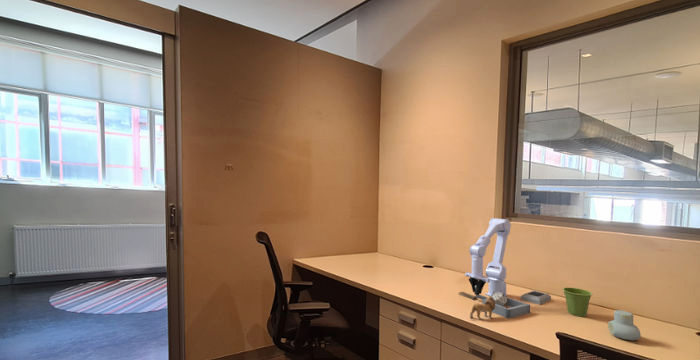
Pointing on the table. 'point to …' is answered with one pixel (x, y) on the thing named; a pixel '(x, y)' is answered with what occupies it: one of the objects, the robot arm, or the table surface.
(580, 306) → the plant pot
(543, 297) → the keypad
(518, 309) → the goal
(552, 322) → the table surface
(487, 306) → the lion figurine
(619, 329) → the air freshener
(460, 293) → the rail
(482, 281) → the robot arm
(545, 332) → the table surface
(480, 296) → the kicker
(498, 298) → the grey rock
